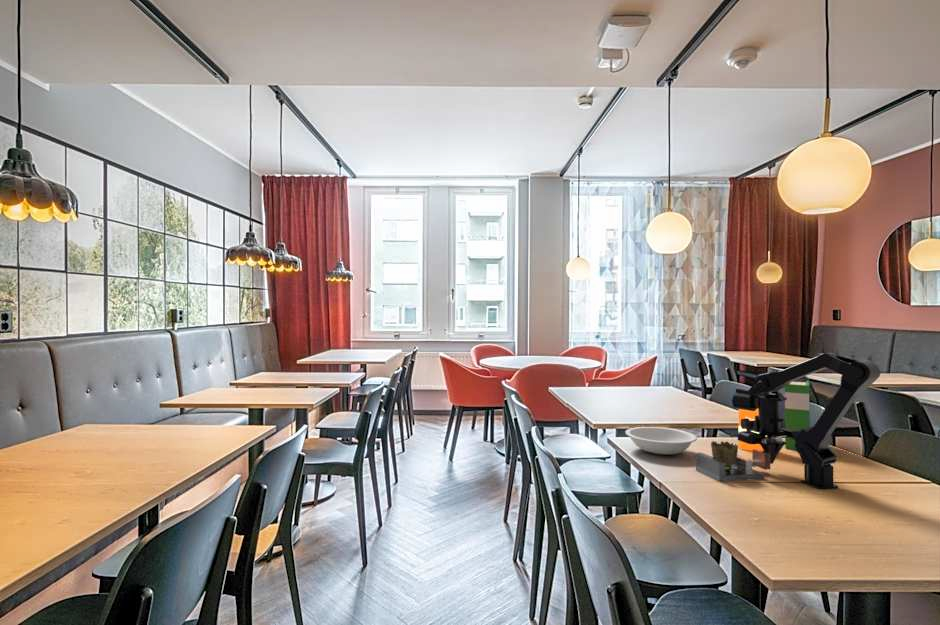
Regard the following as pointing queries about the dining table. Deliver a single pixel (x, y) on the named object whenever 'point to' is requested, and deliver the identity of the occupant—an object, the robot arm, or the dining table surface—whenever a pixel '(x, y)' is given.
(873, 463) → the dining table surface
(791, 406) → the hardback book
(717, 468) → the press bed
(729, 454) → the ornate bronze lampshade
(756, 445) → the orange juice
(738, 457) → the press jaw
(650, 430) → the soup bowl
